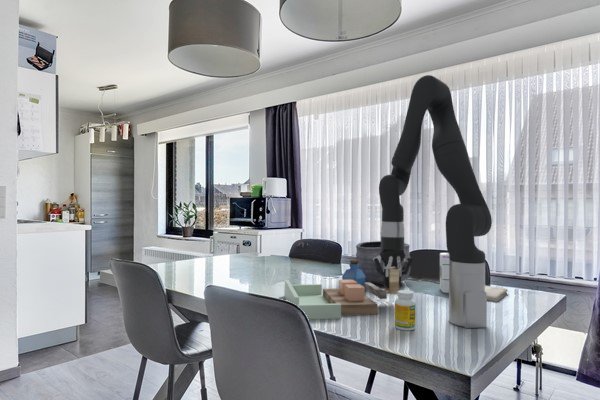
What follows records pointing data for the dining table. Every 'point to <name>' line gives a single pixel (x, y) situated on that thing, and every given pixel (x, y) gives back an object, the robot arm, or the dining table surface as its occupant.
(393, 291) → the scraper
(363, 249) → the tea bowl
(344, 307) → the block
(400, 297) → the supplement bottle
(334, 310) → the tray
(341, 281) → the tile
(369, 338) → the dining table surface
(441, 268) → the syrup box
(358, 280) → the perfume bottle
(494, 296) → the washcloth
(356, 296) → the peach block
